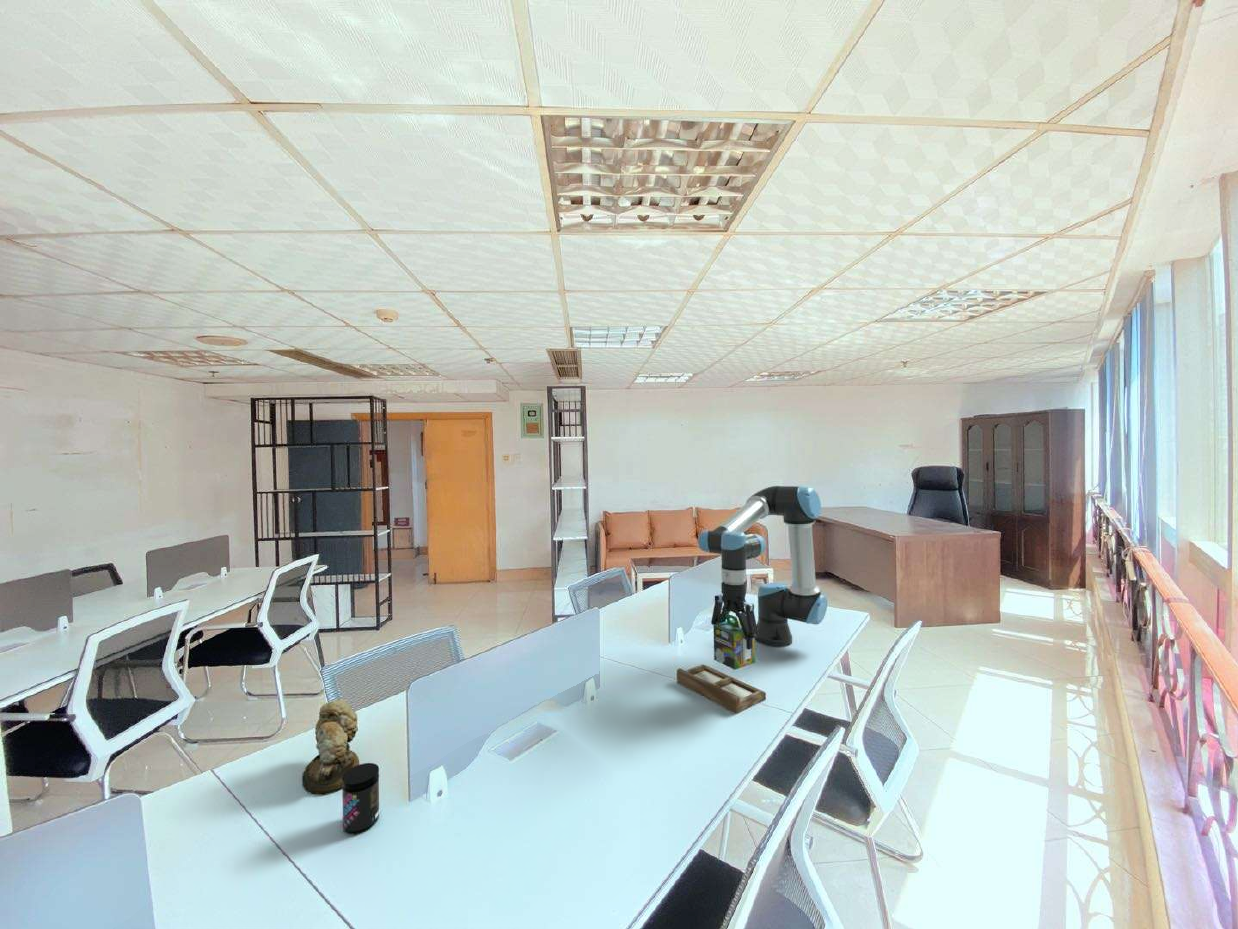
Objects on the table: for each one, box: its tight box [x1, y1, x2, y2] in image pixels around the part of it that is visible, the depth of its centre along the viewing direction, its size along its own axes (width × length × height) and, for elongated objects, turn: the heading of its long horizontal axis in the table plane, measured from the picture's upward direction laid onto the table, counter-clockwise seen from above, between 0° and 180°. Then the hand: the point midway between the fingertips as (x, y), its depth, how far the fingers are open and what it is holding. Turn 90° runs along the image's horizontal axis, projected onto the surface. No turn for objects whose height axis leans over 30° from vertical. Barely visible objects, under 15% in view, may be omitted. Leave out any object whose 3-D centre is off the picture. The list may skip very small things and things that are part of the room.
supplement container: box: [341, 762, 380, 835], centre depth 99 cm, size 7×7×10 cm
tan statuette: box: [301, 699, 360, 796], centre depth 115 cm, size 18×12×17 cm, turn 36°
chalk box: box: [712, 613, 756, 671], centre depth 149 cm, size 9×9×15 cm
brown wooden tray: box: [676, 664, 767, 715], centre depth 154 cm, size 14×25×4 cm, turn 37°
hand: (733, 653), depth 149 cm, fingers closed on chalk box, 9 cm apart
